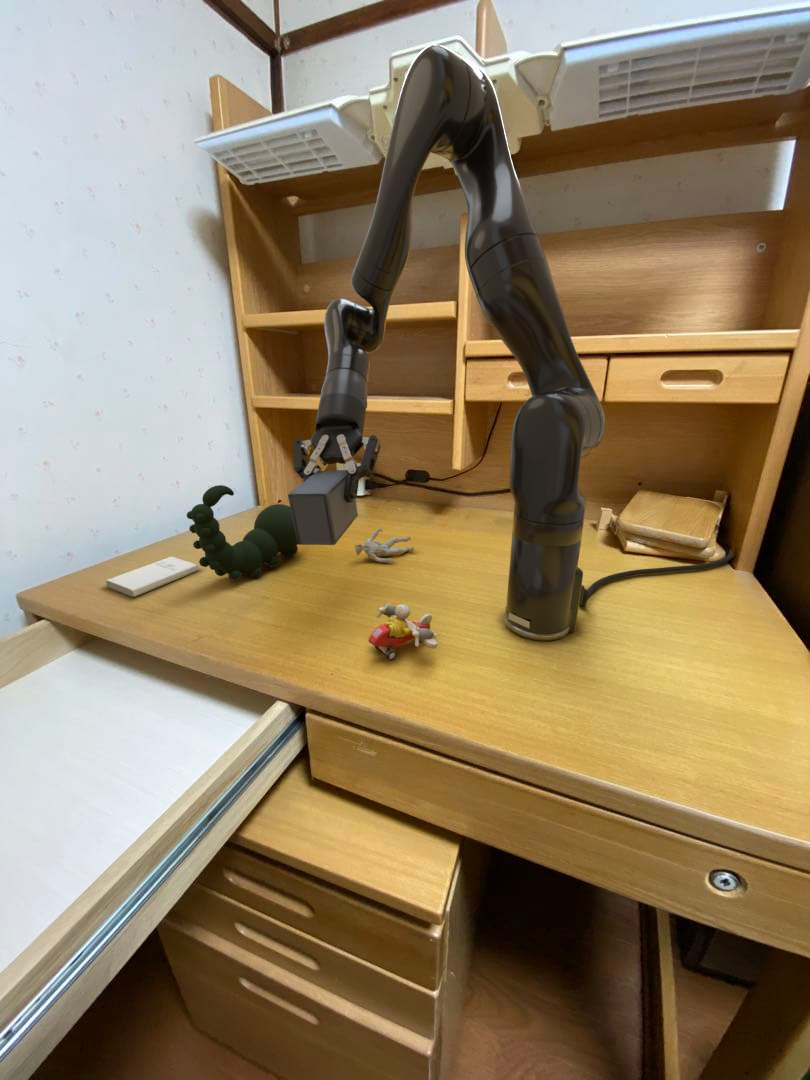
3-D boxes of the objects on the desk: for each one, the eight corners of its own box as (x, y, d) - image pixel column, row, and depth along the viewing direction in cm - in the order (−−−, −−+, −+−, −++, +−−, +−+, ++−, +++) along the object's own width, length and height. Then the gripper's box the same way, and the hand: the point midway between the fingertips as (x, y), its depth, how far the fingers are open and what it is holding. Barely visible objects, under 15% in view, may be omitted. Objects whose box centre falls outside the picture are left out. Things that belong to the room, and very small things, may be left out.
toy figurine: (231, 605, 78) (327, 546, 97) (205, 500, 70) (315, 458, 89) (197, 591, 83) (295, 538, 102) (168, 492, 75) (280, 454, 94)
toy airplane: (367, 661, 60) (365, 619, 58) (381, 625, 69) (380, 586, 66) (436, 667, 59) (437, 624, 57) (442, 630, 67) (443, 590, 65)
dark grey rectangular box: (325, 515, 75) (317, 470, 72) (358, 515, 74) (351, 469, 71) (297, 544, 65) (287, 494, 62) (334, 545, 64) (326, 493, 61)
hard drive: (107, 587, 81) (171, 562, 91) (134, 598, 77) (198, 571, 87) (105, 579, 81) (170, 555, 91) (132, 590, 77) (196, 563, 87)
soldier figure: (418, 561, 93) (371, 558, 85) (404, 571, 96) (357, 569, 89) (409, 528, 96) (362, 522, 89) (395, 538, 99) (349, 533, 92)
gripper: (292, 393, 73) (273, 490, 67) (379, 388, 69) (367, 488, 64) (310, 421, 79) (294, 510, 74) (391, 417, 76) (380, 510, 71)
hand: (328, 500), depth 69 cm, fingers closed on dark grey rectangular box, 5 cm apart
